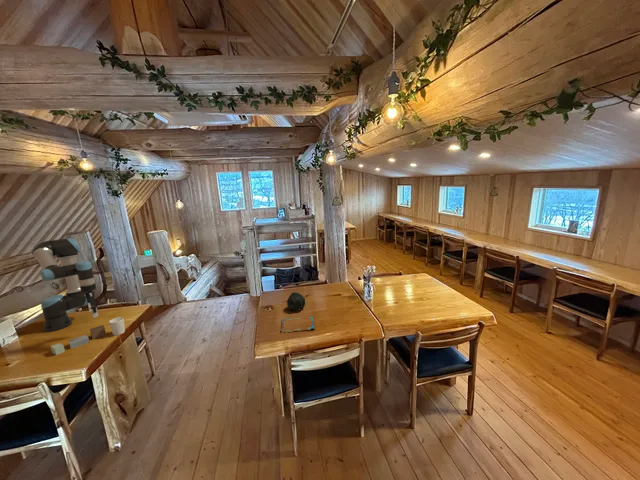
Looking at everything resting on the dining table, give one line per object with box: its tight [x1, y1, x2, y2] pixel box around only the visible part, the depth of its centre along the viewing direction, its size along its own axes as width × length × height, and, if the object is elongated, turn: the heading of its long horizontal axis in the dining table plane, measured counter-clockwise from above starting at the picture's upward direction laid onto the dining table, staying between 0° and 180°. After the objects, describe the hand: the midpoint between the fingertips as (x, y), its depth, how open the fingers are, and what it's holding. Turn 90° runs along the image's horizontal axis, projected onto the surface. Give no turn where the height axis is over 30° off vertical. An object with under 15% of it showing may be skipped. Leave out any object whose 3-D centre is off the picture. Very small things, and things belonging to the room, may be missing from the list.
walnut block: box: [89, 324, 107, 340], centre depth 176 cm, size 6×7×6 cm
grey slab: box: [68, 334, 90, 350], centre depth 168 cm, size 7×9×4 cm
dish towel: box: [280, 316, 316, 332], centre depth 181 cm, size 17×23×2 cm
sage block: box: [50, 342, 66, 356], centre depth 159 cm, size 6×4×4 cm, turn 64°
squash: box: [286, 292, 306, 311], centre depth 206 cm, size 14×15×15 cm
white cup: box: [108, 316, 126, 336], centre depth 179 cm, size 8×8×10 cm
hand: (94, 314), depth 174 cm, fingers open, 13 cm apart
